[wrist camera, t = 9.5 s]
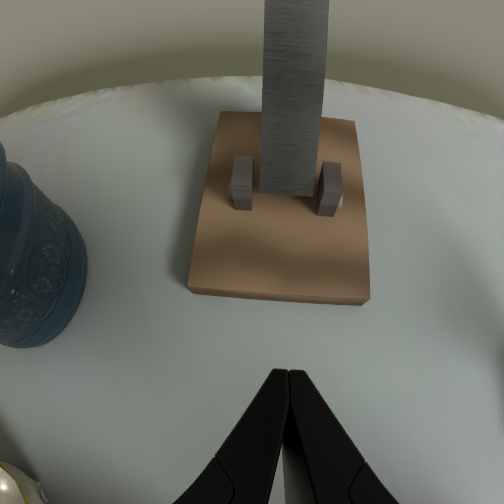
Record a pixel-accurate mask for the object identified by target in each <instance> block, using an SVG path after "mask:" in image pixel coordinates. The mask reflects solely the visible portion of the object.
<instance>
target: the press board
mask: <svg viewBox="0 0 504 504" xmlns="http://www.w3.org/2000/svg"><path fill="white" fill-rule="evenodd" d="M261 123H262V112H230V111H221V113H220V117H219V122H218V126H217V130H216V135H215V139H214V144H213V149H212V153H211V158H210V163H209V167H208V172H207V177H206V182H205V187H204V192H203V197H202V202H201V207H200V213H199V218H198V224H197V229H196V235H195V240H194V246H193V252H192V258H191V264H190V270H189V276H188V283H187V286H188V288H189V289H190V290H191V292H192V293H193V294H201V295H212V296H223V297H234V298H246V299H258V300H271V301H285V302H300V303H317V304H335V305H356V306H362V305H363V304H364V303H366V302H367V301H368V300H369V299H370V274H369V251H368V234H367V220H366V208H365V197H364V187H363V178H362V170H361V162H360V154H359V147H358V140H357V133H356V127H355V121H350V120H343V119H335V118H326V117H321V125H320V135H319V144H318V154H317V163H316V171H315V180H314V188H313V196H312V197H310V196H298V195H285V194H270V193H259V186H260V155H261Z"/></svg>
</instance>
